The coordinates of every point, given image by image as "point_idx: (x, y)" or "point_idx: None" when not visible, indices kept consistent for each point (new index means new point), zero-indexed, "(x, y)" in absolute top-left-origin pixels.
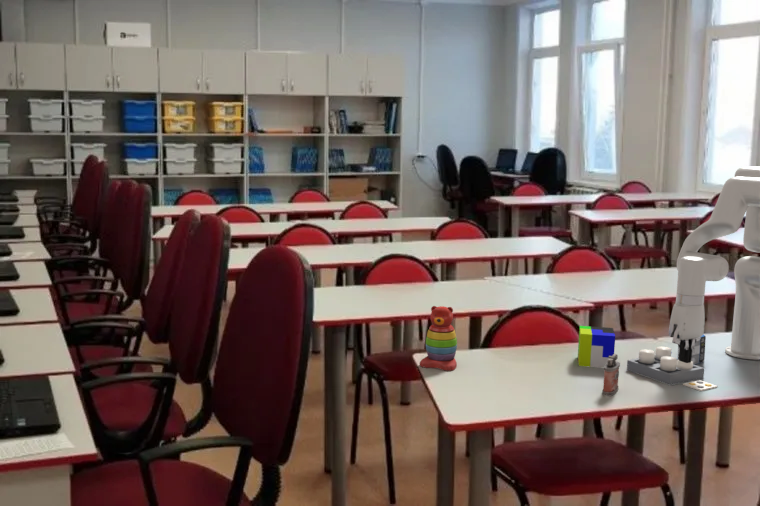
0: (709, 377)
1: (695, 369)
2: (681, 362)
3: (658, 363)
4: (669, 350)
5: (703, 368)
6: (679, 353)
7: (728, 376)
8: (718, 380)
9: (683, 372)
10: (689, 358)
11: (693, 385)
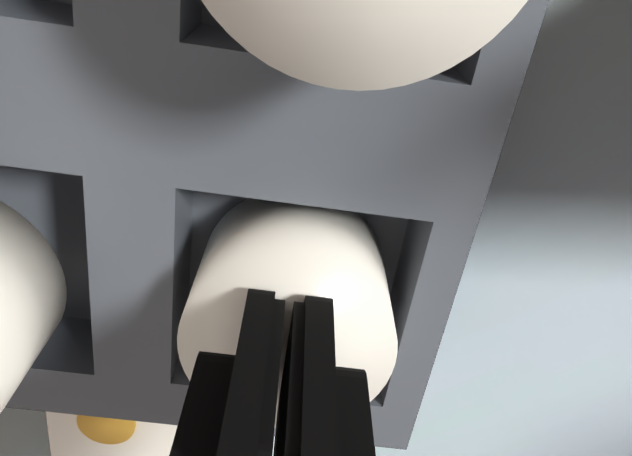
0: (460, 383)
1: (274, 429)
2: (198, 349)
3: (41, 30)
4: (334, 88)
5: (394, 445)
6: (234, 365)
7: (616, 446)
8: (436, 451)
9: (63, 410)
10: (274, 454)
11: (88, 439)
